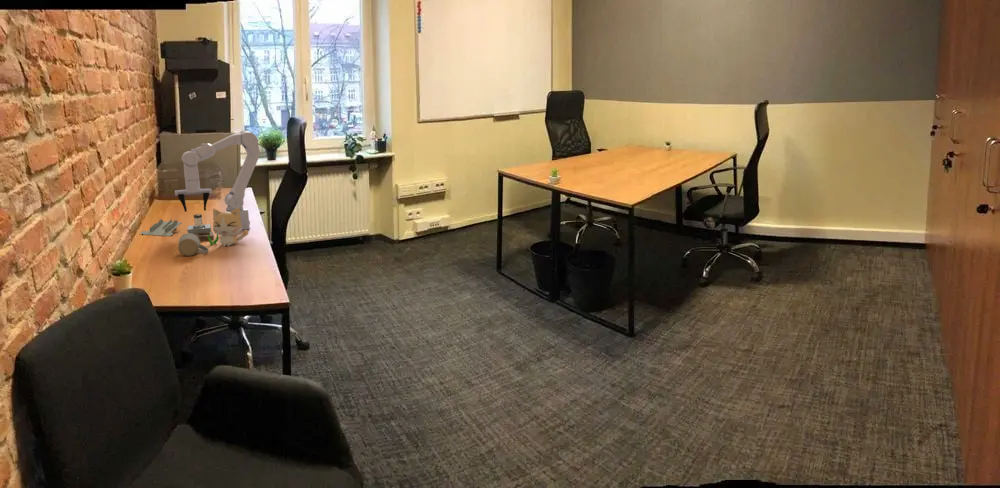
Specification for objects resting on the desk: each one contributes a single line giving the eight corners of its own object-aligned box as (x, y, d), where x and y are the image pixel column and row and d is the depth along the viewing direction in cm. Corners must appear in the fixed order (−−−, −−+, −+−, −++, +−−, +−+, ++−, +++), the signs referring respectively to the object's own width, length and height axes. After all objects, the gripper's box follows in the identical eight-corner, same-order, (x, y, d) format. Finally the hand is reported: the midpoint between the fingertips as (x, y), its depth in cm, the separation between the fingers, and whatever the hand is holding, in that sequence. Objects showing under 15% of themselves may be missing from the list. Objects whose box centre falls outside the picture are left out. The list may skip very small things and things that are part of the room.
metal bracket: (156, 216, 312) (186, 218, 309) (159, 227, 315) (189, 229, 312) (136, 232, 300) (167, 233, 297) (140, 243, 303) (171, 245, 300)
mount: (213, 236, 299) (213, 231, 299) (213, 239, 293) (212, 235, 293) (195, 237, 297) (195, 233, 297) (195, 241, 291) (194, 236, 290)
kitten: (204, 247, 281) (201, 211, 277) (212, 241, 290) (209, 206, 287) (243, 247, 282) (239, 210, 278) (249, 241, 292) (246, 206, 288)
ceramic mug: (178, 257, 266) (176, 238, 264) (179, 252, 273) (178, 233, 272) (208, 255, 270) (207, 236, 268) (209, 250, 277) (207, 231, 275)
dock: (211, 231, 307) (210, 224, 306) (211, 235, 300) (210, 228, 299) (189, 233, 304) (188, 225, 303) (188, 237, 297) (187, 229, 296)
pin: (205, 233, 304) (203, 214, 302) (202, 235, 300) (200, 215, 298) (197, 234, 303) (195, 214, 301) (194, 235, 300) (192, 216, 298)
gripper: (210, 177, 306) (213, 207, 309) (174, 179, 301) (177, 210, 304) (210, 179, 299) (213, 210, 303) (173, 181, 294) (176, 213, 298)
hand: (195, 210), depth 303 cm, fingers open, 7 cm apart
